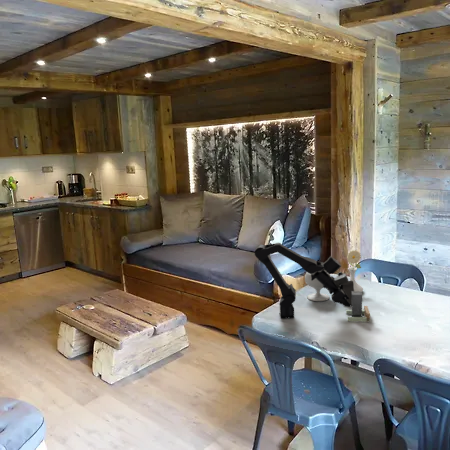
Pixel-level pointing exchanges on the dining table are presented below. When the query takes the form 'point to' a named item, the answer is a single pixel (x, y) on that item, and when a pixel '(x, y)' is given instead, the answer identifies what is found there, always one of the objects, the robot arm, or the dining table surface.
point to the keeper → (360, 319)
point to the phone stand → (348, 290)
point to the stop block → (356, 303)
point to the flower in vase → (354, 258)
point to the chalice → (317, 287)
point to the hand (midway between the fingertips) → (349, 302)
